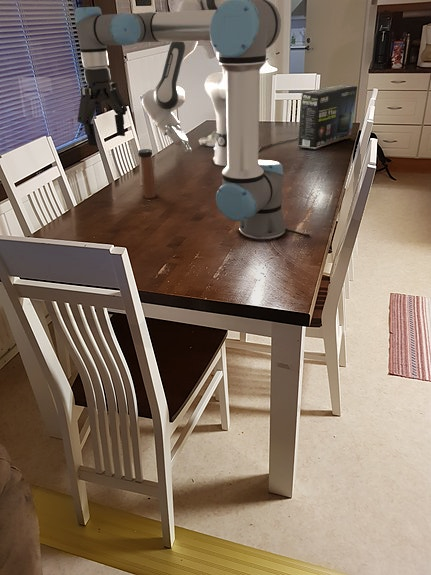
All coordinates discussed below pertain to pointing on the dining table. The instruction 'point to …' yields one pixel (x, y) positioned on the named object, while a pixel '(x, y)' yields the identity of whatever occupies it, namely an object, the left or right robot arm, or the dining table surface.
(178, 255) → the dining table surface
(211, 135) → the fossil
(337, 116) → the router box
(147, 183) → the jar
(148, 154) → the lid
